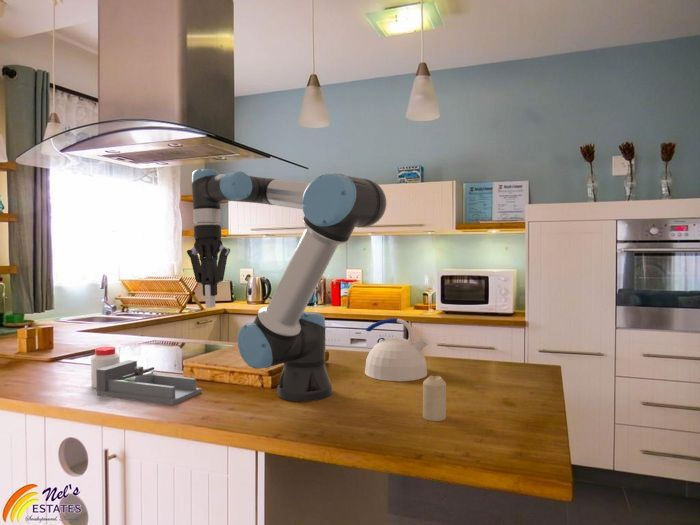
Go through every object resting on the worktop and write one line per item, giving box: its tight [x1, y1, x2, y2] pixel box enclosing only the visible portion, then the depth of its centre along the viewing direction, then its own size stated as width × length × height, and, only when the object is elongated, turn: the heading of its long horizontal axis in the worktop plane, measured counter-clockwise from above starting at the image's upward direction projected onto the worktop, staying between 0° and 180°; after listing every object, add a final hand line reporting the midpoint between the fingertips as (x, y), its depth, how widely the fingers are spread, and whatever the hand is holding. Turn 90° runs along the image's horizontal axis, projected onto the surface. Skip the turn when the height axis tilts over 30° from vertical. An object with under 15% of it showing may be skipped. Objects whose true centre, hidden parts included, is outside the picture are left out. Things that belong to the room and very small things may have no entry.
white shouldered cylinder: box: [422, 375, 447, 422], centre depth 124 cm, size 6×6×10 cm
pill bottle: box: [90, 346, 121, 389], centre depth 154 cm, size 8×8×11 cm
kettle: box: [364, 318, 429, 382], centre depth 166 cm, size 20×21×18 cm
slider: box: [122, 366, 155, 384], centre depth 145 cm, size 4×12×6 cm, turn 160°
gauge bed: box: [96, 359, 202, 406], centre depth 144 cm, size 26×12×7 cm, turn 69°
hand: (210, 307), depth 147 cm, fingers closed
